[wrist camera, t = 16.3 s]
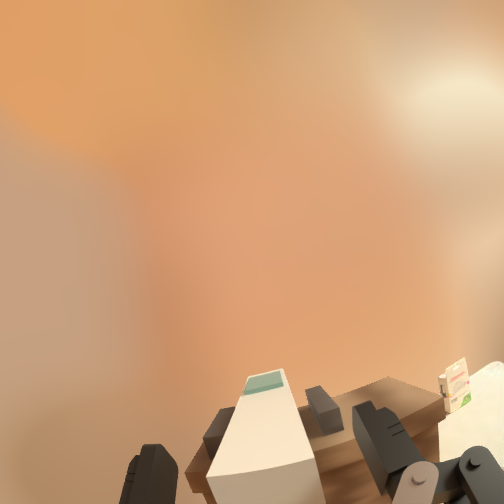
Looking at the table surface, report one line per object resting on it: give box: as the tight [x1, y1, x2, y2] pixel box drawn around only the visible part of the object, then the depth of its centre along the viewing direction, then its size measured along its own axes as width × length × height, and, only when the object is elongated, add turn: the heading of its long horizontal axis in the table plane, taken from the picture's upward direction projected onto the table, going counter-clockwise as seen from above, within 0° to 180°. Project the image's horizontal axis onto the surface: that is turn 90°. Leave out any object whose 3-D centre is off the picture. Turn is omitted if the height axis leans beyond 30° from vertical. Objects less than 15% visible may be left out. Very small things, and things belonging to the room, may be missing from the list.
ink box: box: [438, 357, 471, 413], centre depth 57 cm, size 9×5×15 cm, turn 87°
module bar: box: [206, 368, 326, 504], centre depth 18 cm, size 4×23×4 cm, turn 177°
